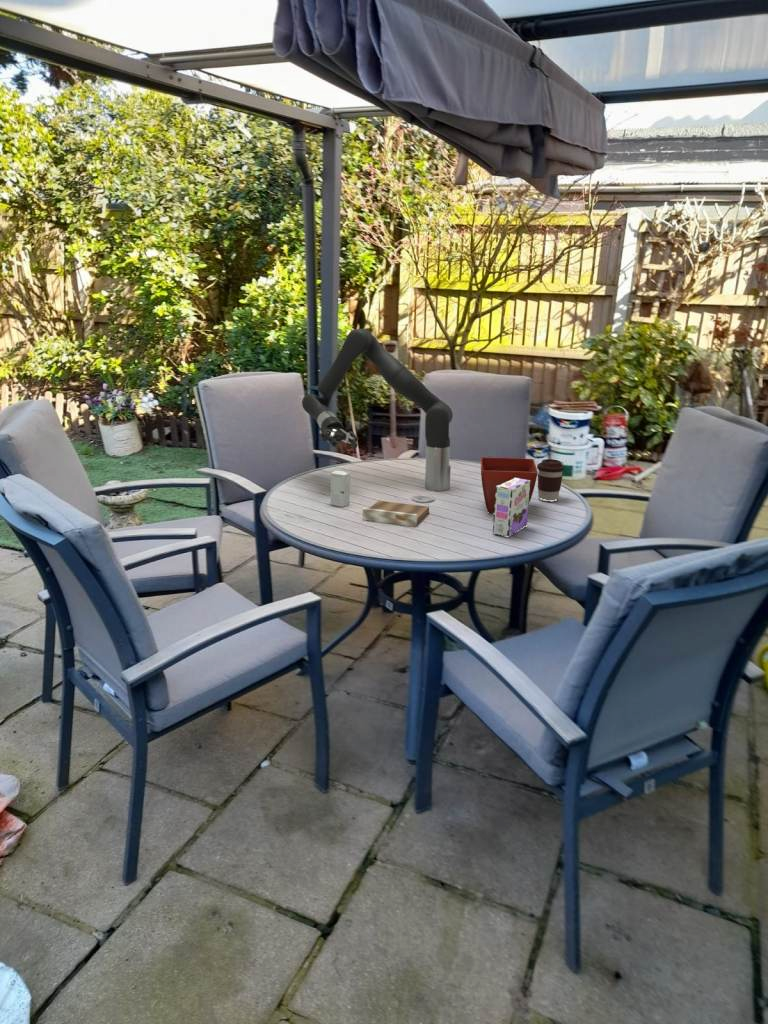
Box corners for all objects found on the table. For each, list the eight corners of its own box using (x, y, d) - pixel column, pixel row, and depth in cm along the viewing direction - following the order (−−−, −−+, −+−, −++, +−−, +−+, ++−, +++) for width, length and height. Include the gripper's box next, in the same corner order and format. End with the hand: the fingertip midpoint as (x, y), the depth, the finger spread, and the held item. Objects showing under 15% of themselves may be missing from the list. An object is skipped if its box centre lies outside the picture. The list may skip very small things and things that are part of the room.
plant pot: (478, 516, 234) (480, 469, 228) (478, 500, 252) (480, 456, 246) (534, 519, 231) (538, 472, 226) (530, 502, 249) (533, 458, 244)
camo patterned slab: (428, 513, 236) (429, 502, 235) (415, 527, 222) (415, 515, 221) (378, 507, 242) (378, 496, 241) (362, 520, 229) (362, 509, 227)
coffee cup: (564, 503, 248) (568, 464, 244) (537, 503, 248) (541, 464, 244) (557, 496, 258) (561, 458, 253) (532, 495, 258) (535, 457, 253)
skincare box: (330, 504, 245) (329, 472, 241) (336, 501, 248) (336, 470, 245) (344, 507, 242) (344, 475, 238) (350, 504, 246) (350, 472, 242)
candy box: (508, 538, 213) (511, 488, 208) (491, 534, 216) (495, 485, 211) (527, 527, 223) (531, 479, 218) (511, 523, 227) (515, 476, 222)
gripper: (316, 413, 253) (331, 435, 242) (348, 417, 261) (365, 438, 249) (310, 431, 257) (325, 453, 245) (343, 434, 264) (359, 456, 253)
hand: (345, 445), depth 247 cm, fingers open, 8 cm apart
